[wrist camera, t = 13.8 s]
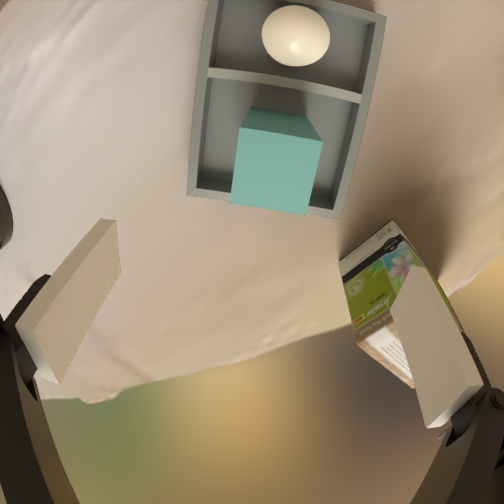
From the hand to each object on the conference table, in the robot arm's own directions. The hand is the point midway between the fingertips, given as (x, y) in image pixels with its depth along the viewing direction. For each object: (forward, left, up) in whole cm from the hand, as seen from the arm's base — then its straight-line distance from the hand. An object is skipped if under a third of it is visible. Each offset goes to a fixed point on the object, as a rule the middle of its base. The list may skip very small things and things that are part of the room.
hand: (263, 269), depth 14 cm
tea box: (+20, -15, -25) cm, 36 cm away
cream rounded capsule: (0, +11, -24) cm, 26 cm away
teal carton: (0, 0, -24) cm, 24 cm away
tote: (0, +5, -25) cm, 25 cm away
